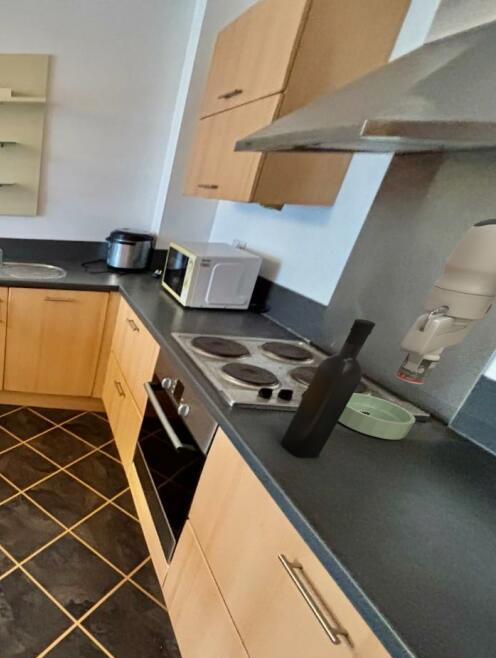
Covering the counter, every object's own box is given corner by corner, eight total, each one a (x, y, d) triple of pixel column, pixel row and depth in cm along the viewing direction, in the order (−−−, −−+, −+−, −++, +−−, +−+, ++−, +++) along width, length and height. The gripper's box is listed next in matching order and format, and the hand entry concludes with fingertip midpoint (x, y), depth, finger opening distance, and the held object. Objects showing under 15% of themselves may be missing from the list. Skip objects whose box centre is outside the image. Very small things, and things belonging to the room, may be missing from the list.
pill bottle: (390, 376, 91) (410, 341, 87) (401, 373, 93) (422, 339, 89) (417, 386, 87) (439, 350, 83) (428, 383, 89) (450, 347, 85)
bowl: (415, 433, 101) (426, 416, 98) (386, 447, 95) (397, 429, 92) (347, 404, 112) (356, 388, 110) (317, 415, 106) (326, 398, 104)
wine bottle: (277, 442, 94) (339, 315, 80) (301, 442, 94) (366, 316, 80) (295, 458, 89) (364, 326, 75) (320, 458, 89) (393, 327, 75)
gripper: (455, 314, 75) (414, 381, 82) (495, 304, 84) (455, 365, 91) (411, 304, 80) (376, 368, 87) (454, 296, 89) (419, 354, 95)
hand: (417, 367), depth 89 cm, fingers closed on pill bottle, 5 cm apart
